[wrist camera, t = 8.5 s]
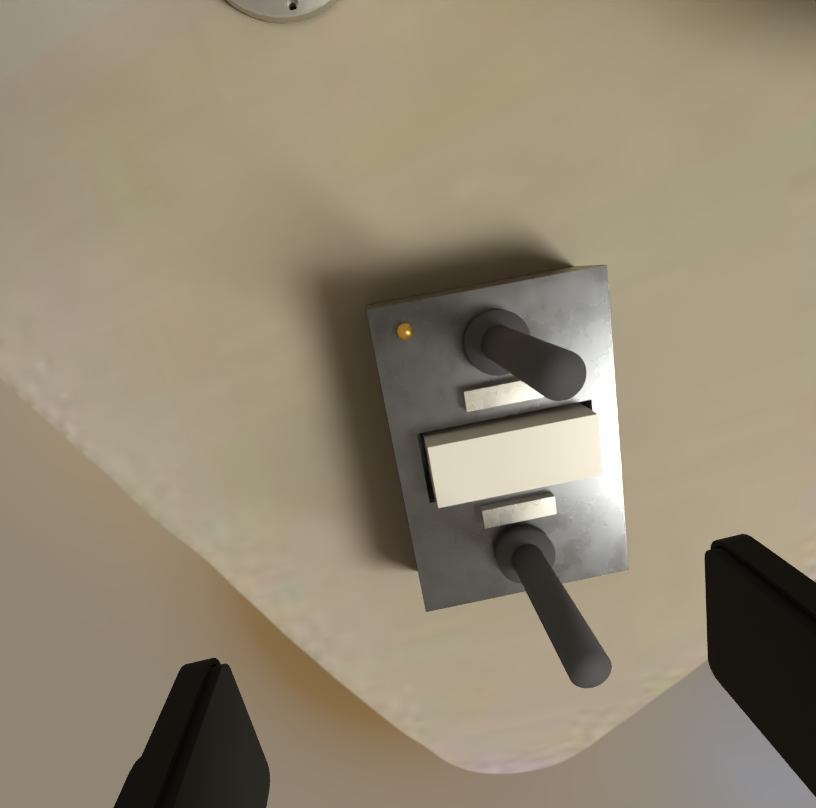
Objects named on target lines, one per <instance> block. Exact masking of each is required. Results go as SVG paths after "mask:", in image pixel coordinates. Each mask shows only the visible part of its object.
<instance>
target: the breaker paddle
mask: <svg viewBox="0 0 816 808" xmlns="http://www.w3.org/2000/svg"><path fill="white" fill-rule="evenodd" d="M420 434H421V440H422V445H423V451H424V456H425V462H426V467H427V473H428V476H429V479H430V483H431V486H432V489H433V492H434V496H435V499H436V502H437V505H438V508H442V507H447V506H452V505H457V504H462V503H467V502H472V501H477V500H482V499H487V498H491V497H496V496H501V495H506V494H511V493H516V492H521V491H526V490H531V489H536V488H541V487H546V486H551V485H556V484H561V483H566V482H571V481H576V480H581V479H585V478H590V477H595V476H600V475H603V470H602V458H601V446H600V433H599V421H598V414H597V413H595V412H594V411H592V410H590V409H589V408H587V407H585V406H584V405H582V404H580V403H579V402H576V403H571V404H566V405H561V406H556V407H551V408H546V409H541V410H535V411H530V412H525V413H520V414H515V415H510V416H505V417H500V418H495V419H490V420H485V421H480V422H475V423H469V424H464V425H459V426H454V427H449V428H444V429H439V430H434V431H429V432H424V433H420Z"/></svg>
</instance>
